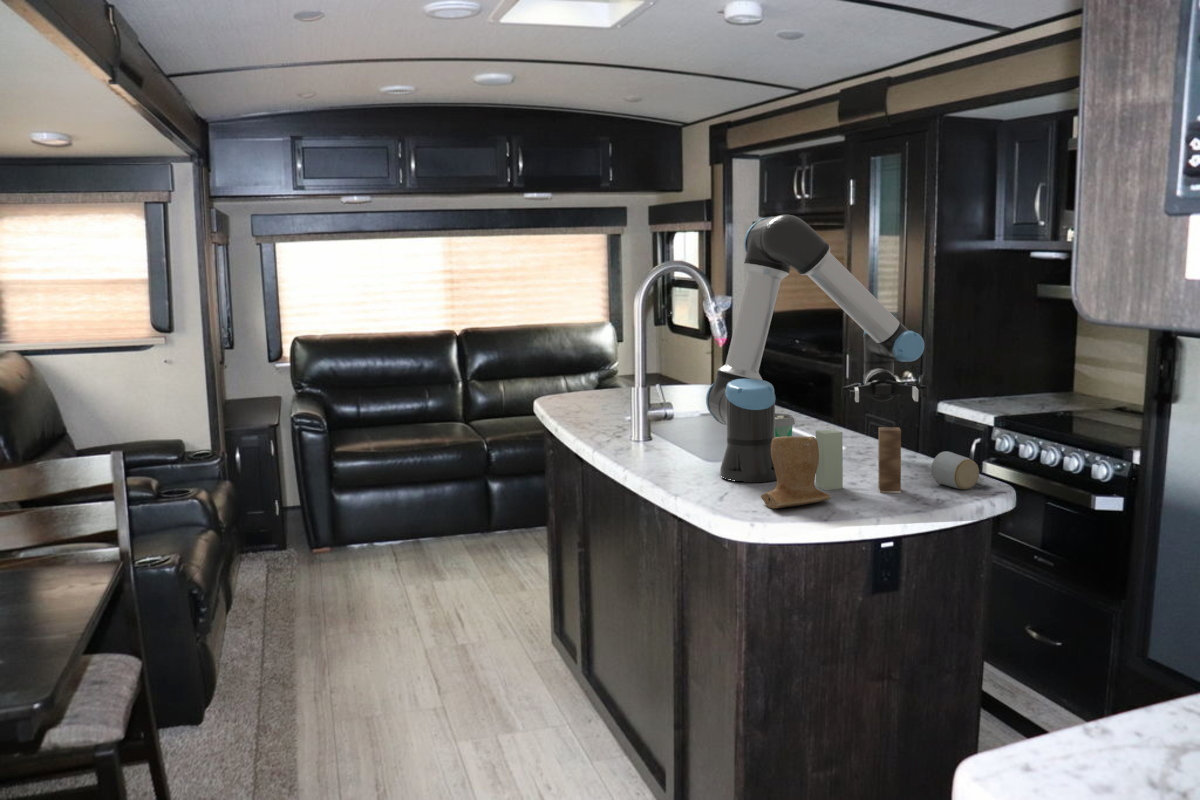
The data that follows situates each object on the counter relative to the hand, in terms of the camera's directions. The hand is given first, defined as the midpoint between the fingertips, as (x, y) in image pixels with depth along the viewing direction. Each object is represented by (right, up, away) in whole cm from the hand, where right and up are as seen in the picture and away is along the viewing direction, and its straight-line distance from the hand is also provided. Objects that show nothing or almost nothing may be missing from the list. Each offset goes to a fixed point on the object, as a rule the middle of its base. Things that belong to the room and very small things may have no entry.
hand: (886, 396), depth 226 cm
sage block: (-14, -21, -1) cm, 25 cm away
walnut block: (-1, -21, -7) cm, 22 cm away
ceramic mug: (+15, -21, -5) cm, 26 cm away
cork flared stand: (-25, -24, -15) cm, 38 cm away
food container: (-16, -15, +43) cm, 49 cm away
